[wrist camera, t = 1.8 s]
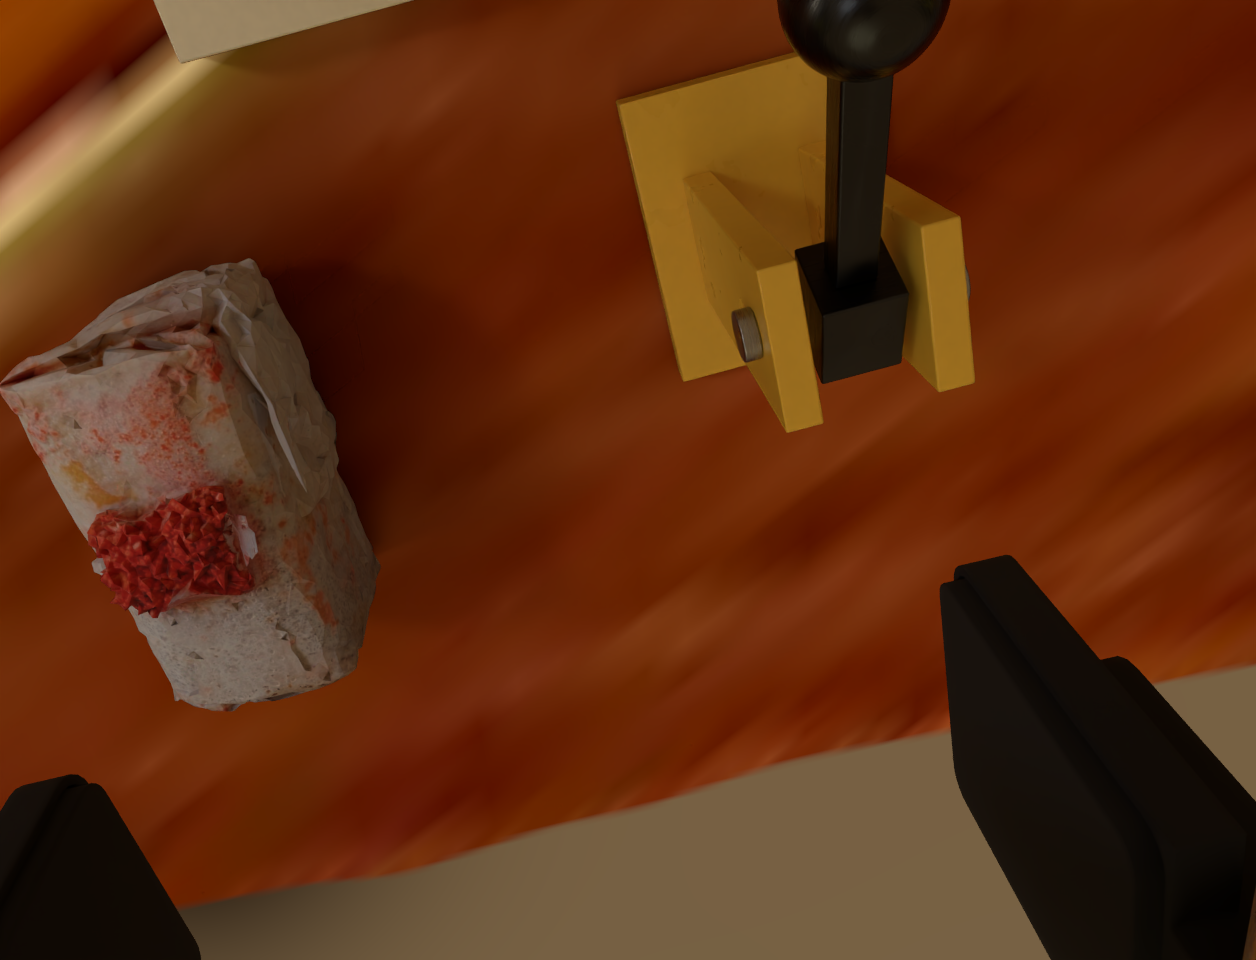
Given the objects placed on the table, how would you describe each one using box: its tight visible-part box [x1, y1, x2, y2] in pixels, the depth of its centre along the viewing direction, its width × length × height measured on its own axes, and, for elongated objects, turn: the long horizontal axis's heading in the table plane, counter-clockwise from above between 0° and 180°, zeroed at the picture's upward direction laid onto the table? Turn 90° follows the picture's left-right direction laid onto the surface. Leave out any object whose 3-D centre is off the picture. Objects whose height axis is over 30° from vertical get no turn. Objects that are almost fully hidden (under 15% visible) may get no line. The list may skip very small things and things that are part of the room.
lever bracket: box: [616, 52, 975, 432], centre depth 31 cm, size 10×8×13 cm
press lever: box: [777, 0, 950, 384], centre depth 23 cm, size 12×3×3 cm
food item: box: [0, 258, 381, 711], centre depth 34 cm, size 14×8×10 cm, turn 15°
